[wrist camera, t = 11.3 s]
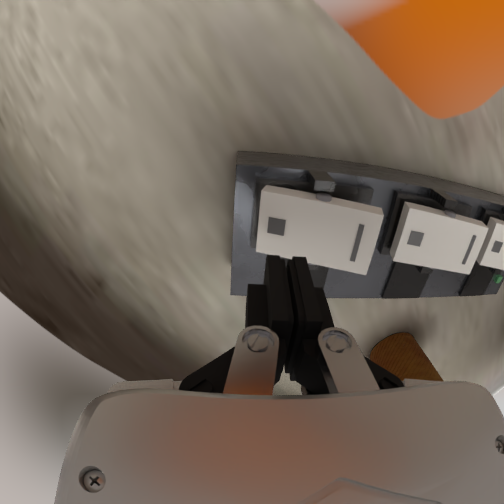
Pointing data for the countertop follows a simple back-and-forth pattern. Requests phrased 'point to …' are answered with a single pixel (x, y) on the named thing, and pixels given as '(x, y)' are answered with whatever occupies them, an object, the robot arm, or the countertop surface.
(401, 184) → the power strip
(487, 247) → the rocker
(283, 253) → the rocker
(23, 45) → the countertop surface
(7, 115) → the countertop surface
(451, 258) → the rocker
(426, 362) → the disposable coffee cup
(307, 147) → the countertop surface
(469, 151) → the countertop surface
